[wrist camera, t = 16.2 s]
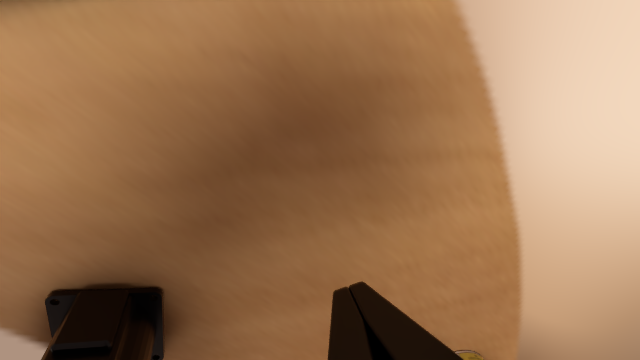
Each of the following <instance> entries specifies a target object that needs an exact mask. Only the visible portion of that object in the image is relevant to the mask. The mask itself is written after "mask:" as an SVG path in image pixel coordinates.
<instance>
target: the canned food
mask: <svg viewBox="0 0 640 360" xmlns="http://www.w3.org/2000/svg"><path fill="white" fill-rule="evenodd" d="M455 353H456V354H457V355H459V356H460V357H461V358H463V359H464V360H484V359H483V358H482V357H481V355H480V354H478V353H476V352H474V351H467V350H464V351H456V352H455Z"/></svg>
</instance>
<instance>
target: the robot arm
mask: <svg viewBox="0 0 640 360" xmlns="http://www.w3.org/2000/svg"><path fill="white" fill-rule="evenodd" d="M152 295H156V297H153V296H152ZM54 299H57V300H59V301H56V300H54ZM45 305H46V310H47V315H48V320H49V325H50V330H51V335H52V340H51V342H50V344H49V346H48V348H47V350H46V351H45V353H44V355H43V357H42V359H41V360H162V359H163V357H164V314H163V292H162V290H161V289H158V288H136V289H107V290H77V291H55V292H51V293H50V294H49V295H48V297H47V298H46V300H45ZM328 360H464V359H463V358H461V357H460V356H459V355H457V354H456V353H455V352H454V351H452V350H451V349H450V348H448V347H447V346H446V345H445V344H443V343H442V342H441V341H439V340H438V339H437V338H435V337H434V336H433V335H432V334H430V333H429V332H428V331H426V330H425V329H424V328H423V327H421V326H420V325H419V324H417V323H416V322H415V321H414V320H412V319H411V318H410V317H408V316H407V315H406V314H404V313H403V312H402V311H401V310H399V309H398V308H397V307H395V306H394V305H393V304H392V303H390V302H389V301H388V300H386V299H385V298H384V297H382V296H381V295H380V294H379V293H377V292H376V291H375V290H373V289H372V288H371V287H370V286H368V285H367V284H366V283H364V282H358V283H355V284H352V285H350V286H349V288H348V287H343V288H340V289H337V290H335V291H334V292H333V301H332V313H331V326H330V338H329V350H328Z"/></svg>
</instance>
